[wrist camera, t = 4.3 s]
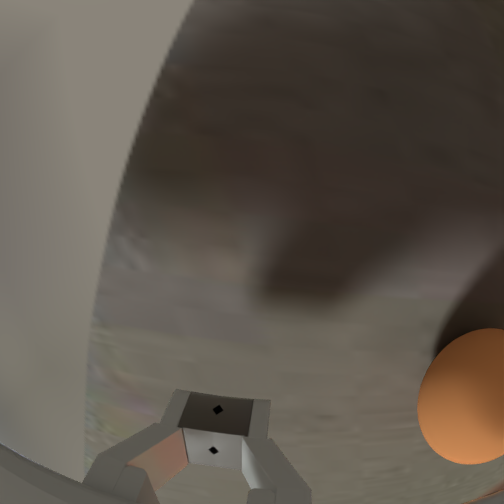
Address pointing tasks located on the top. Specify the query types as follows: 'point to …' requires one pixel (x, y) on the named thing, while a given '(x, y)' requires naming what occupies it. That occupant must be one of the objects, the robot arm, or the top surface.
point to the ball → (465, 398)
